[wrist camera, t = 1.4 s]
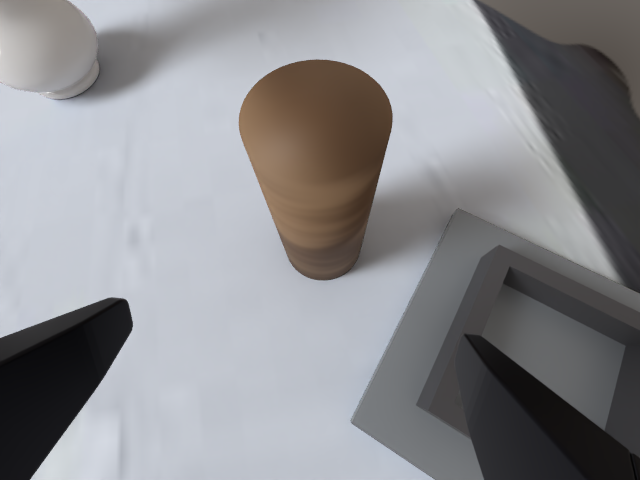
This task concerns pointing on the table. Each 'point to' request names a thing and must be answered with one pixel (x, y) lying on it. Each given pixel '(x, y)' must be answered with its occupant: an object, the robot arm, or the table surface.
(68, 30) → the flower vase
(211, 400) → the table surface
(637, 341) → the collar
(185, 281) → the table surface
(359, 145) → the peg
